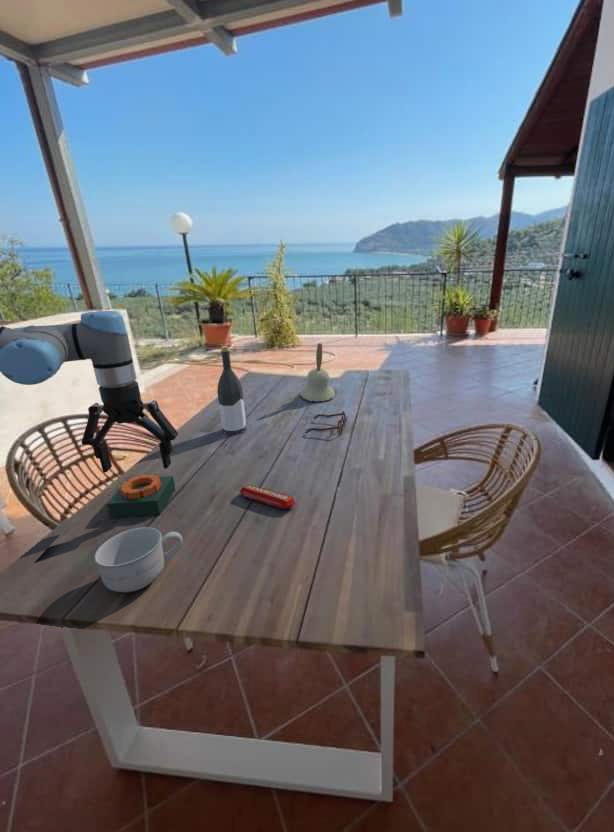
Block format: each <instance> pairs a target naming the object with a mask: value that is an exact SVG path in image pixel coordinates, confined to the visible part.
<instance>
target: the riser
mask: <svg viewBox="0 0 614 832" xmlns="http://www.w3.org/2000/svg"><path fill="white" fill-rule="evenodd" d="M158 477H159V478H160V481H161V486H160V487H159V489H158V490H157V491H155V493H153V494H150V495H148V496H146V497H143V496H142V497H141V498H134V499H129V498H125V497H124V496H123V495H122V494H121V490H120V488H119V489H118V490H117V491H116V492H115V494H114V495H112V497H111V498H110V499H109V500H108V502H107V503H106V506H107V510H108V514H109V517H110V519H119V518H135V517H149V516H160V515H161V514H162V512H163V510H164V509H165V507H166V506H167V504H168V502H169V500H170V499H171V497H172V495H173V494H174V492H175V491H176V486H175V479H174V475H168V476H167V475H166V476H158ZM129 479H131V478H130V477H129V478H127V479H126V480H125V482H126V481H128V480H129ZM150 484H151V483H143V484H139V485H137V486H134V487H132V489H141V488H144V487H146V486H149V485H150Z"/></svg>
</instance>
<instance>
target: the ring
mask: <svg viewBox="0 0 614 832" xmlns="http://www.w3.org/2000/svg"><path fill="white" fill-rule="evenodd" d="M159 477H160V476H158V475H156V474H154V475H153V474H141V475H136V476H134V477H132V478H131V479H129V478H128V479H129V480H128V481H126V480H125V481H124V482H123V484H122V485H120V487H119V489H120V490H121V494H122V495H123V496H124V497H125V498H129V499H134V498H141V497H142V496H143V497H146V496H148V495H150V494H153V493H155V491H157V490H158V489H159V487H160V486H161V481H160V478H159ZM143 483H151V484H150V485H149V486H146V487H144V488H141V489H132V487H134V486H137V485H139V484H143Z"/></svg>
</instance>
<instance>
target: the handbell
mask: <svg viewBox="0 0 614 832" xmlns="http://www.w3.org/2000/svg"><path fill="white" fill-rule="evenodd" d="M315 355H316V356H315V361H316V367H313V368H312V369H310V370H309V371H308V373H307V378H306V379H307V383H306V385H304V386H303V387H301V389H300V391H299V394H300V397H301V398H303V399H304V400H306V401H308V400H309V401H308V402H312V401H322V400H327V399H330V398H332V399H334V397H335V396H336V392H335V389H334V388H332V387H331V386H330V374H329V372H328V371H327V370H325V369H324V368H322V363H323V344H322V343H321V342H319V343H317V345H316V352H315Z"/></svg>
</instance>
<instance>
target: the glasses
mask: <svg viewBox="0 0 614 832" xmlns="http://www.w3.org/2000/svg"><path fill="white" fill-rule="evenodd" d="M338 416H341V418H340V419H339V420H337V426H332V427H324V428H317V427H311V428H309V429H308V430H306V431H305V432H304V433H307V434H308V433H309V432H311V431H319V432H322V431H330V430H336V429H337V430H338V433H339V435H342V434H343V425H346V424H345V422H346V423H347V416H346V412H345V411H343V410H342V411H341V412H339V413H334V414H323V413H321V414H319V413H318V414H317V415H315V416H314V417H313V419H315V420H316V419H318V417H325V418H331V417H338ZM342 423H343V424H342ZM341 433H342V434H341Z"/></svg>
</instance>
